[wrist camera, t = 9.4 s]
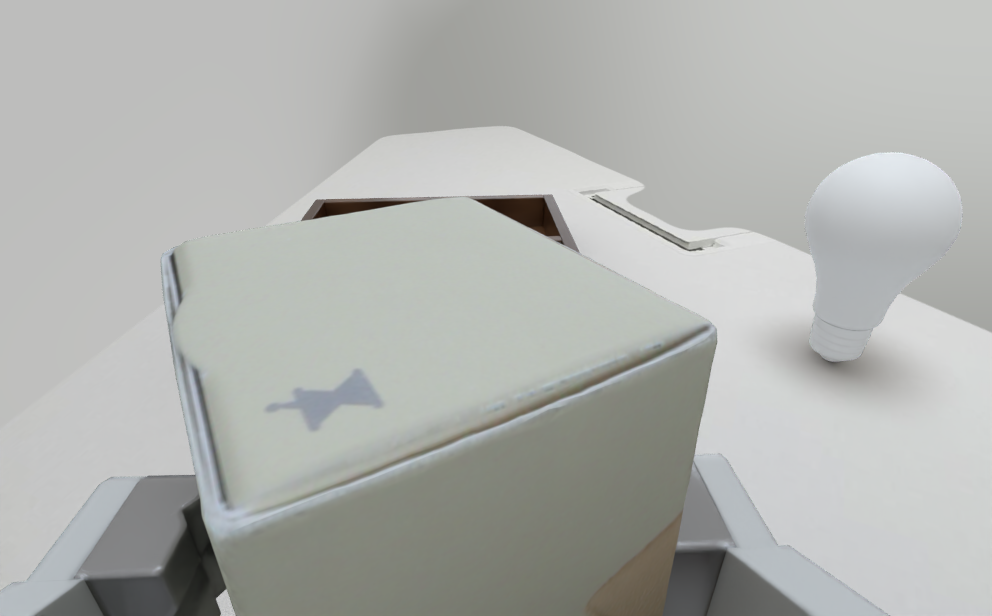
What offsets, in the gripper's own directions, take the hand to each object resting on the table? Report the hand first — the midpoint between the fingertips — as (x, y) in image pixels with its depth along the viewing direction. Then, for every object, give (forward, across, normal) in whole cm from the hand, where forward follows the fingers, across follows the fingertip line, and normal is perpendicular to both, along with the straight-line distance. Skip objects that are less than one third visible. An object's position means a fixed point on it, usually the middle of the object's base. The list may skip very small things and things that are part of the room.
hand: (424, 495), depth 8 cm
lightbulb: (+18, -20, +11) cm, 29 cm away
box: (-1, 0, +7) cm, 7 cm away
